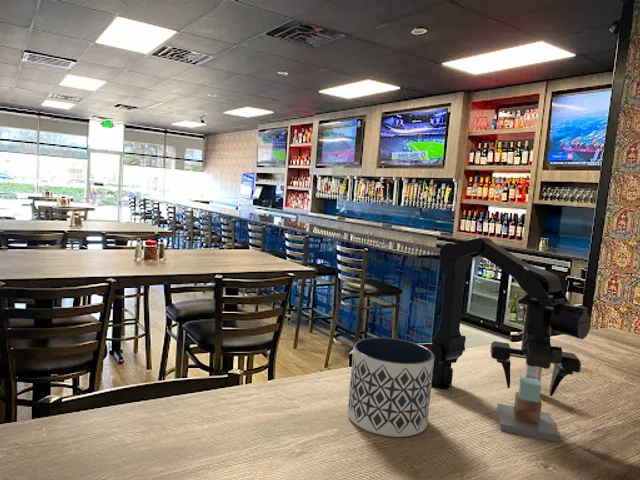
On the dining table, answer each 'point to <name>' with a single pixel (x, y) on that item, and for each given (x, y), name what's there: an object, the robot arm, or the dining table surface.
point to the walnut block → (527, 410)
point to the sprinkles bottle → (533, 372)
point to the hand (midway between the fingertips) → (529, 391)
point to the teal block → (529, 389)
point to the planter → (390, 386)
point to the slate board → (526, 424)
